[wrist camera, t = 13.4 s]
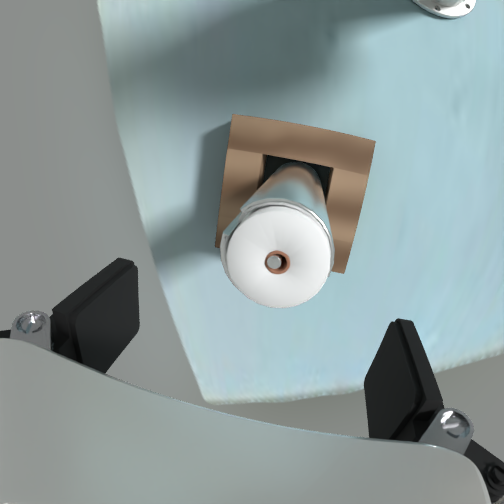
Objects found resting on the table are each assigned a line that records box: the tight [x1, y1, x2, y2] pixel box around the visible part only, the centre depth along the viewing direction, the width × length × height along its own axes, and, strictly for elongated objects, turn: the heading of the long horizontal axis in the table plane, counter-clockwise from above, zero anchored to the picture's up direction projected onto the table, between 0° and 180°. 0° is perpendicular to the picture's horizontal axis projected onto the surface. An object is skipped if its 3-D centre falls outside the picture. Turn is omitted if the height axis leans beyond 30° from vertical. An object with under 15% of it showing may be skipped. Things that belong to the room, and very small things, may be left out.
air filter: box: [220, 162, 335, 308], centre depth 28 cm, size 6×6×25 cm
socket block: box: [215, 114, 376, 274], centre depth 38 cm, size 16×16×5 cm
